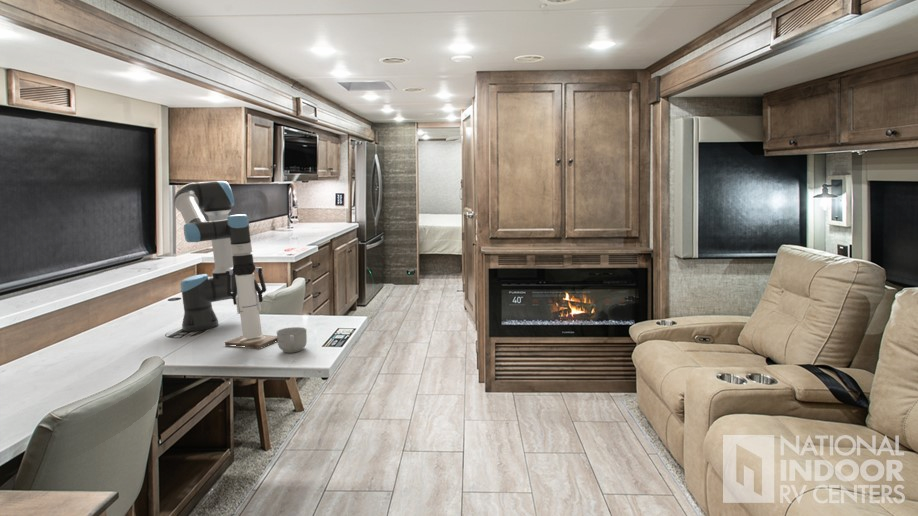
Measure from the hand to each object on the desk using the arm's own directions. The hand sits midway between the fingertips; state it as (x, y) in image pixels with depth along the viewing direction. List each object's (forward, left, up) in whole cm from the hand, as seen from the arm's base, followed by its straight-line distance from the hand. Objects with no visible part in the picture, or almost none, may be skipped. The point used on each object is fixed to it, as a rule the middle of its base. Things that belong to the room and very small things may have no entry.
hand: (249, 311), depth 240 cm
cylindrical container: (0, 0, -10) cm, 10 cm away
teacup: (+25, +7, -13) cm, 29 cm away
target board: (0, 0, -13) cm, 13 cm away
